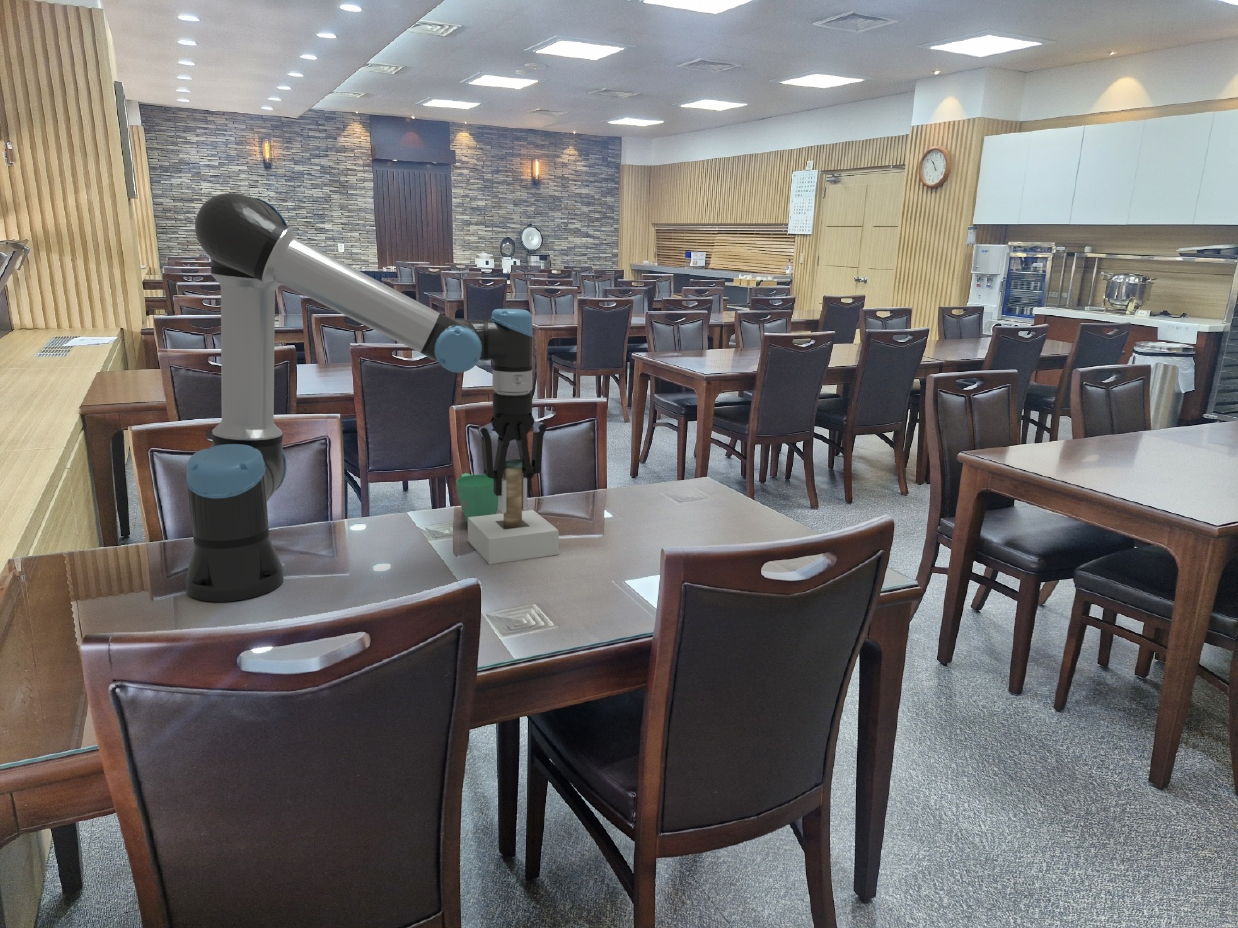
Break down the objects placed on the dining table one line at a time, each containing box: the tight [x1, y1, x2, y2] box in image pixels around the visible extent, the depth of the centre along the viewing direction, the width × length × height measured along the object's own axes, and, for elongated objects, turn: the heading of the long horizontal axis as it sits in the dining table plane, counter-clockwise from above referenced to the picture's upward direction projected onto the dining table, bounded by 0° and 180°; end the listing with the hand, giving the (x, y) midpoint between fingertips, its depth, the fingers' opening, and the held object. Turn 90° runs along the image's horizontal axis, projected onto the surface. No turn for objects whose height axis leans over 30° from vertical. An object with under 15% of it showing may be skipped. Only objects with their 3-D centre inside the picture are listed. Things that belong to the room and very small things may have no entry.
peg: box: [503, 458, 523, 529], centre depth 159 cm, size 4×4×14 cm
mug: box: [455, 472, 499, 524], centre depth 175 cm, size 15×10×10 cm
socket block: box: [467, 509, 560, 565], centre depth 161 cm, size 14×14×5 cm
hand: (512, 509), depth 160 cm, fingers closed on peg, 3 cm apart
